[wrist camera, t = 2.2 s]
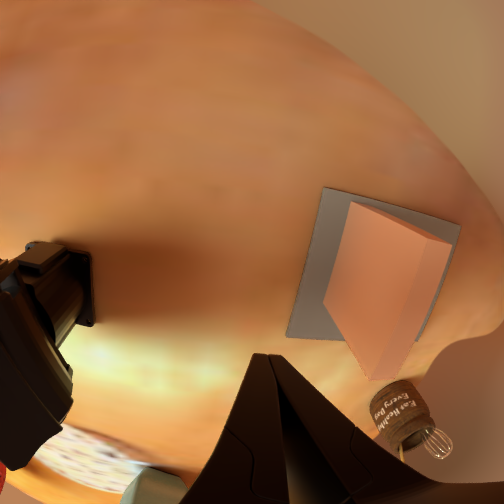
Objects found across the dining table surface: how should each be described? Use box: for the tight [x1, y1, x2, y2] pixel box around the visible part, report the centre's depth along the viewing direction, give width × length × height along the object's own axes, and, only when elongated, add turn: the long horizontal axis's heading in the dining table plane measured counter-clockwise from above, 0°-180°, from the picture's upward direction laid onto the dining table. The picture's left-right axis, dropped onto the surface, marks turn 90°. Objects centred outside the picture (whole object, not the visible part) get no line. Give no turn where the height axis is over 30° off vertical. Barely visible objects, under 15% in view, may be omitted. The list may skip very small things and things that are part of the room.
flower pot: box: [120, 467, 188, 504], centre depth 27 cm, size 9×9×9 cm
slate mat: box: [286, 187, 461, 341], centre depth 22 cm, size 12×14×1 cm
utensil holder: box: [370, 381, 452, 463], centre depth 23 cm, size 6×6×12 cm
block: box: [323, 201, 452, 381], centre depth 17 cm, size 8×2×9 cm, turn 169°
